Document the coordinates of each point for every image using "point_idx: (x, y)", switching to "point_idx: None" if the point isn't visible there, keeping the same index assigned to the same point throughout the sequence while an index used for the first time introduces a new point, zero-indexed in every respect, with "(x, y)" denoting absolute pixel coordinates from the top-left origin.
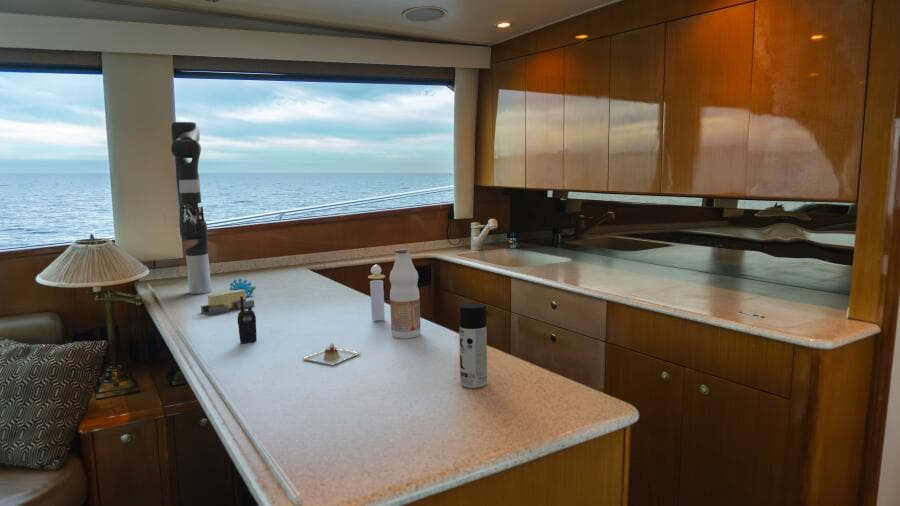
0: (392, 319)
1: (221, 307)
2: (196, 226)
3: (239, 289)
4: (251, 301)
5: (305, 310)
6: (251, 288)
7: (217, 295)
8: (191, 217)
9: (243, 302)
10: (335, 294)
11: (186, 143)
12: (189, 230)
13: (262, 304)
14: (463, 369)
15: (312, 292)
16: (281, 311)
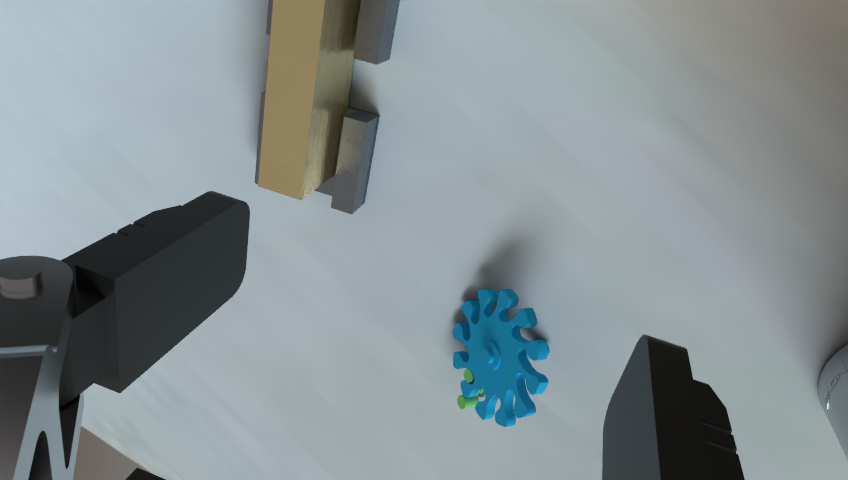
0: None
1: None
2: (124, 248)
3: (493, 337)
4: (258, 168)
5: (39, 182)
6: (465, 382)
7: (276, 6)
8: (16, 374)
9: (259, 125)
10: (170, 433)
11: None
12: (618, 397)
13: (273, 218)
14: None
15: (273, 452)
16: (95, 134)
